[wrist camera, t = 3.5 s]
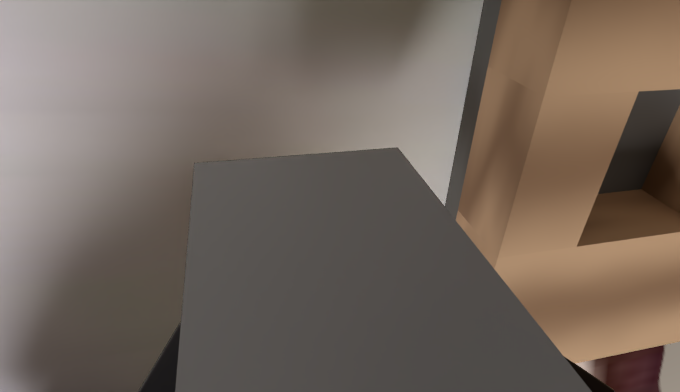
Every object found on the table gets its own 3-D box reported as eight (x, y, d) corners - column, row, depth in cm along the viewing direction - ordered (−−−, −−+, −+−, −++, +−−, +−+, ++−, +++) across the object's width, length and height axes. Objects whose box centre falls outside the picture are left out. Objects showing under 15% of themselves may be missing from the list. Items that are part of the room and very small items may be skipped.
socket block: (622, 283, 25) (685, 340, 21) (424, 317, 22) (460, 387, 19) (854, -179, 14) (1048, -208, 11) (525, -218, 12) (649, -272, 8)
